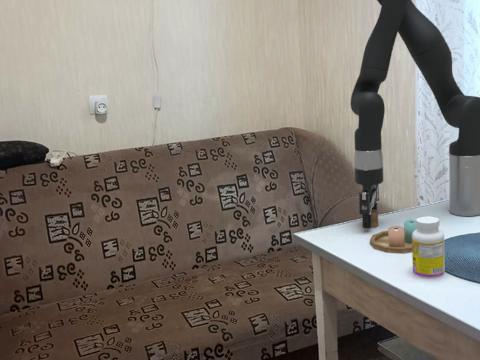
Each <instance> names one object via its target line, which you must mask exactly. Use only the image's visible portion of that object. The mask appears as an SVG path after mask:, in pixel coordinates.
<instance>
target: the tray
mask: <svg viewBox="0 0 480 360" xmlns="http://www.w3.org/2000/svg"><path fill="white" fill-rule="evenodd" d="M369 244H370V246H371V248H373V249H375V250H377V251H379V252H383V253H387V254H388V253H389V254H411V253H412V244H408V243H405V247H402V248H401V247H389V239H388V230H382V231H380V232H377V233H374V234H372V235H371V237H370V239H369Z"/></svg>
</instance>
